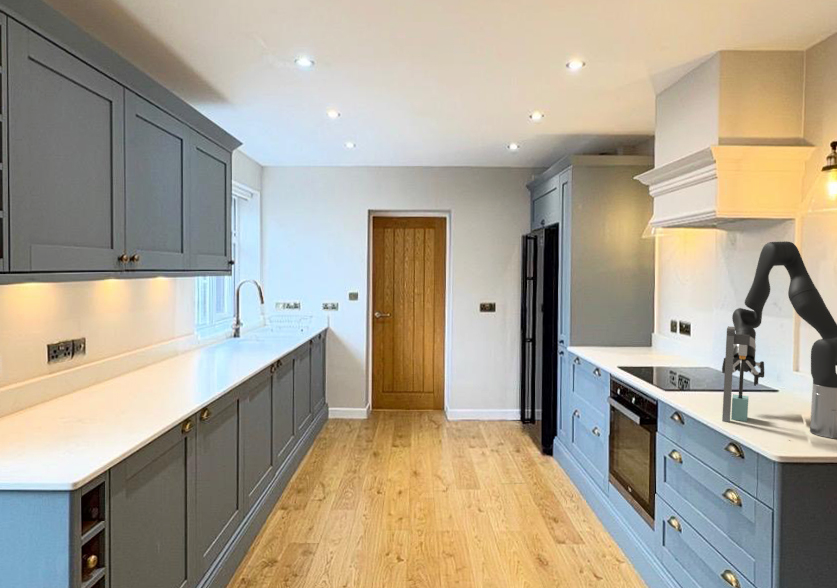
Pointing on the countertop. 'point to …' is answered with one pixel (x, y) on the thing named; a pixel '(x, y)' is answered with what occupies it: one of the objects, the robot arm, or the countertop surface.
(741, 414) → the sleeve
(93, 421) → the countertop surface
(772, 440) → the countertop surface
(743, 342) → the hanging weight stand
